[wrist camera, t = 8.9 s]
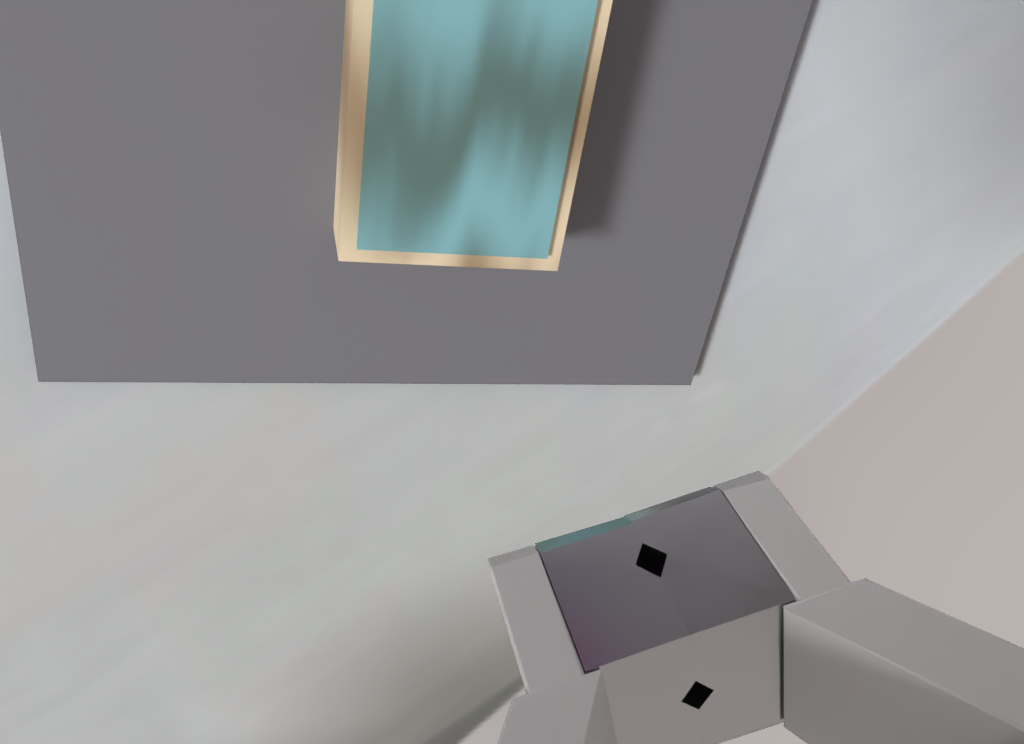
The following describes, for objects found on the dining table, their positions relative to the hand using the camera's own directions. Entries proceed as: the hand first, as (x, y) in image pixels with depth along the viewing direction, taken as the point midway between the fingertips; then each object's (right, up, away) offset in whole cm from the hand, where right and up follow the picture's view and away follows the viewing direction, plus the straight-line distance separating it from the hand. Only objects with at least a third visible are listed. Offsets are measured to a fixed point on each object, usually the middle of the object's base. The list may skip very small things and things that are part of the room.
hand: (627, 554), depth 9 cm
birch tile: (-6, +10, +15) cm, 19 cm away
